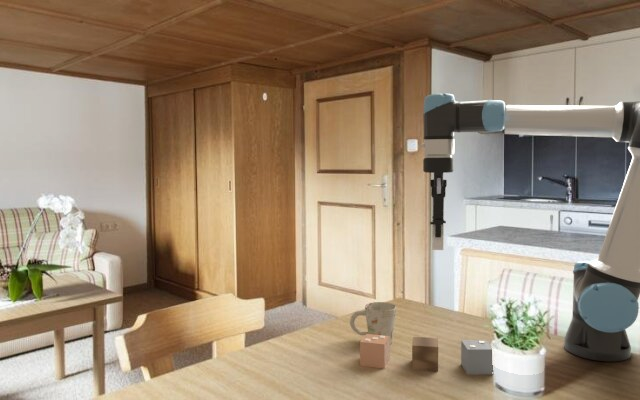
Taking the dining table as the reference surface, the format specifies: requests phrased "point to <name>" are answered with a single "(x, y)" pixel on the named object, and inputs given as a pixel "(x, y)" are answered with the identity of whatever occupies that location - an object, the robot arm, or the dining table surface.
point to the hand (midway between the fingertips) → (437, 249)
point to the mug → (377, 319)
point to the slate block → (476, 356)
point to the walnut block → (425, 354)
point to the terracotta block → (375, 351)
